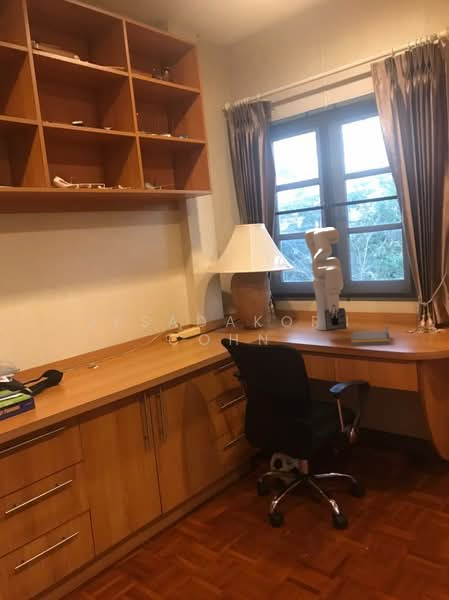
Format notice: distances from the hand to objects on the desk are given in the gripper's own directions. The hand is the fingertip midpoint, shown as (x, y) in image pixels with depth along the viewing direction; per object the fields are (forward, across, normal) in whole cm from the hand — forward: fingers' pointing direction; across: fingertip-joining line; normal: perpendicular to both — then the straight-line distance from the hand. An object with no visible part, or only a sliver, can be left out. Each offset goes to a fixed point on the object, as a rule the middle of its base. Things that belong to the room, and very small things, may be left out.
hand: (335, 323), depth 259 cm
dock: (+8, +9, +17) cm, 21 cm away
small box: (+3, 0, 0) cm, 3 cm away
